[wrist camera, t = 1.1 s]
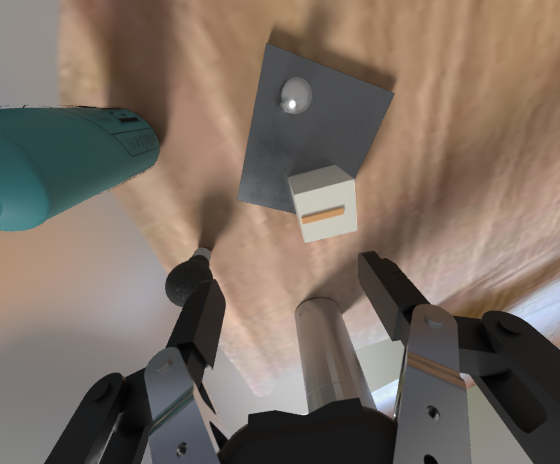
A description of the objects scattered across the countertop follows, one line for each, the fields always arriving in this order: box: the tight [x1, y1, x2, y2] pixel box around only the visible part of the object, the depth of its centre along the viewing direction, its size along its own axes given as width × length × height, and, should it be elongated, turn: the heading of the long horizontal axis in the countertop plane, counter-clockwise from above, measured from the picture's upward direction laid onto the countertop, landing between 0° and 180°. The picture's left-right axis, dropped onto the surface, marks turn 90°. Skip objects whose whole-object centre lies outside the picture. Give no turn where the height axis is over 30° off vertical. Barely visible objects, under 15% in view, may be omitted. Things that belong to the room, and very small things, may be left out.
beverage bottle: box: [0, 105, 160, 231], centre depth 15 cm, size 6×7×20 cm
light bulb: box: [165, 248, 213, 307], centre depth 28 cm, size 6×6×10 cm
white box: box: [288, 165, 357, 243], centre depth 24 cm, size 6×6×6 cm
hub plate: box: [237, 43, 395, 214], centre depth 23 cm, size 14×16×6 cm
